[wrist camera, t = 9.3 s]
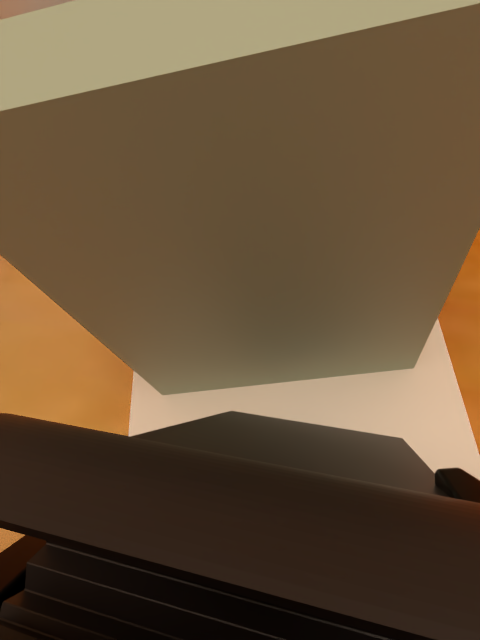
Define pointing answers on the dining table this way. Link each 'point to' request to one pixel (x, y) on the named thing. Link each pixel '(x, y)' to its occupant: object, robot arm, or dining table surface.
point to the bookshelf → (252, 200)
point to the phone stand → (234, 534)
